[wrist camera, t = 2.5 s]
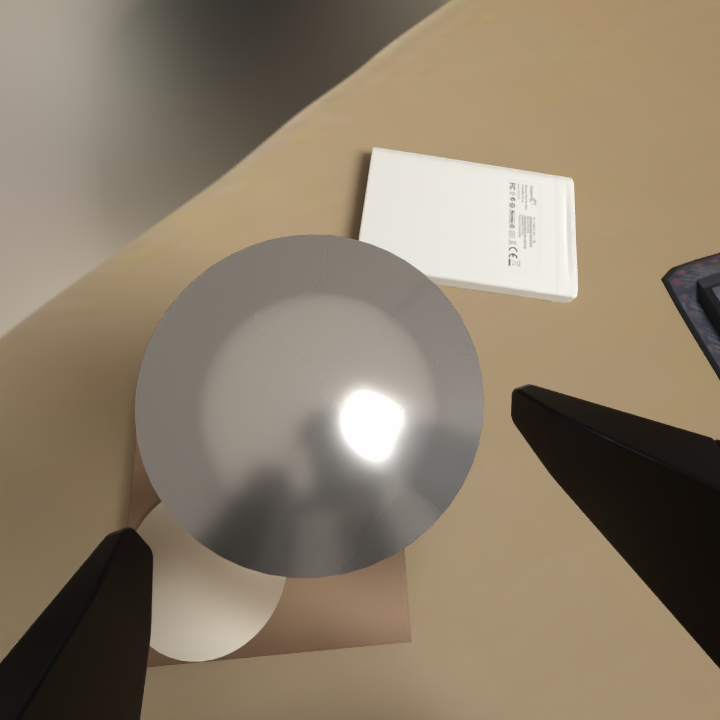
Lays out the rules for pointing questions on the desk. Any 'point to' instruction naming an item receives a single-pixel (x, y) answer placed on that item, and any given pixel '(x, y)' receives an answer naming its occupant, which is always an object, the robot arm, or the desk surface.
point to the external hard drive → (474, 224)
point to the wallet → (699, 302)
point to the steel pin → (309, 406)
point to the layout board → (255, 598)
